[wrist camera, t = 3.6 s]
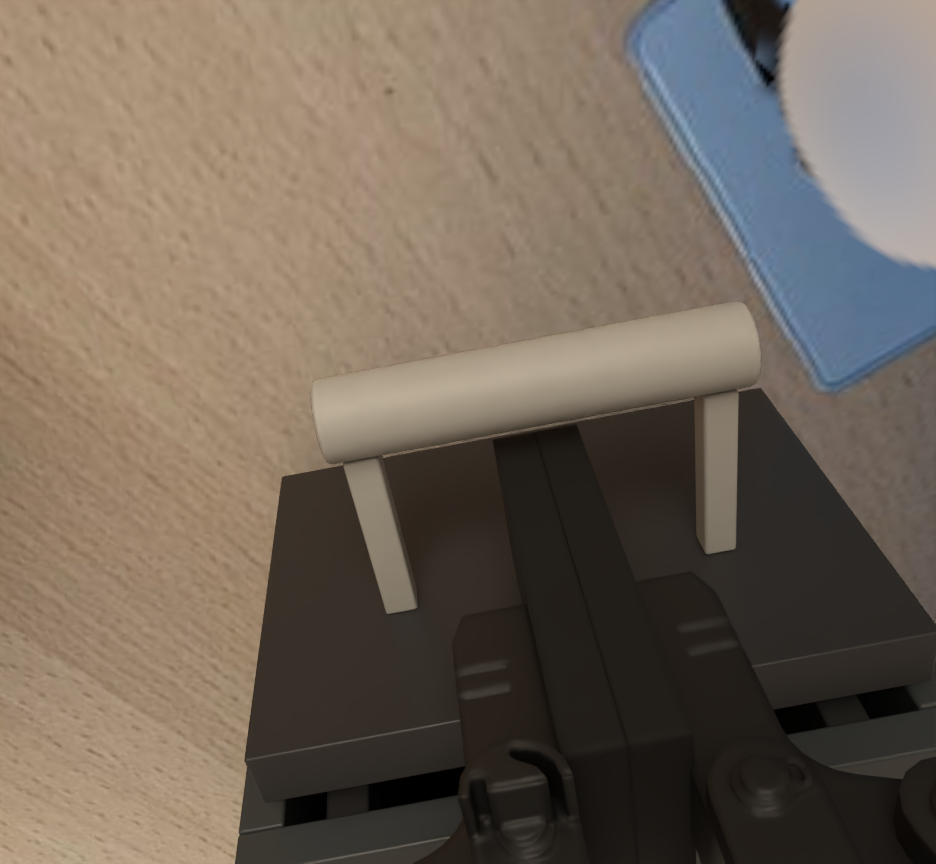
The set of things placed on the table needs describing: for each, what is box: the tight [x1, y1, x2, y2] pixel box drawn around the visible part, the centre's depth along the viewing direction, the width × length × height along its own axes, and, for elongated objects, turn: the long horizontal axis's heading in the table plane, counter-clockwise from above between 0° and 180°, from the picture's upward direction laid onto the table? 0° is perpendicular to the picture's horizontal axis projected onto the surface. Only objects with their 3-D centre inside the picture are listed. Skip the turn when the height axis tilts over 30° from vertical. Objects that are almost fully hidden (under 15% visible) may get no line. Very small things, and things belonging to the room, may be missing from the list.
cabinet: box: [235, 661, 936, 864], centre depth 22 cm, size 15×13×10 cm
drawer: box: [244, 301, 936, 819], centre depth 20 cm, size 18×11×8 cm, turn 9°
